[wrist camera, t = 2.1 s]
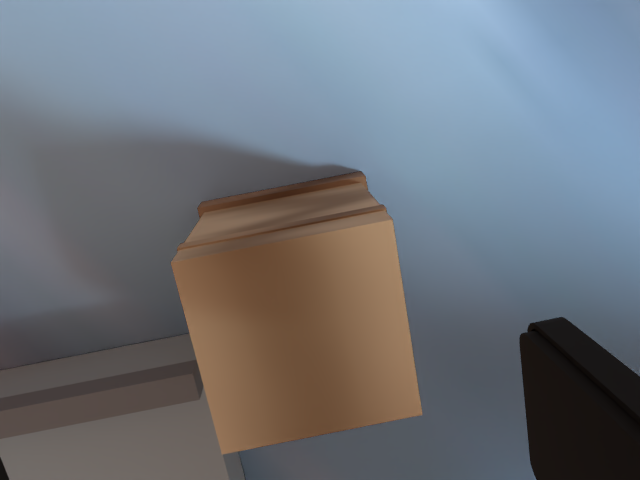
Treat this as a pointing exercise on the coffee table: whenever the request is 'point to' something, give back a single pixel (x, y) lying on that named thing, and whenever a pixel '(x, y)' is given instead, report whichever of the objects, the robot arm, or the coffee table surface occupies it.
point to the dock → (112, 417)
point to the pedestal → (297, 313)
